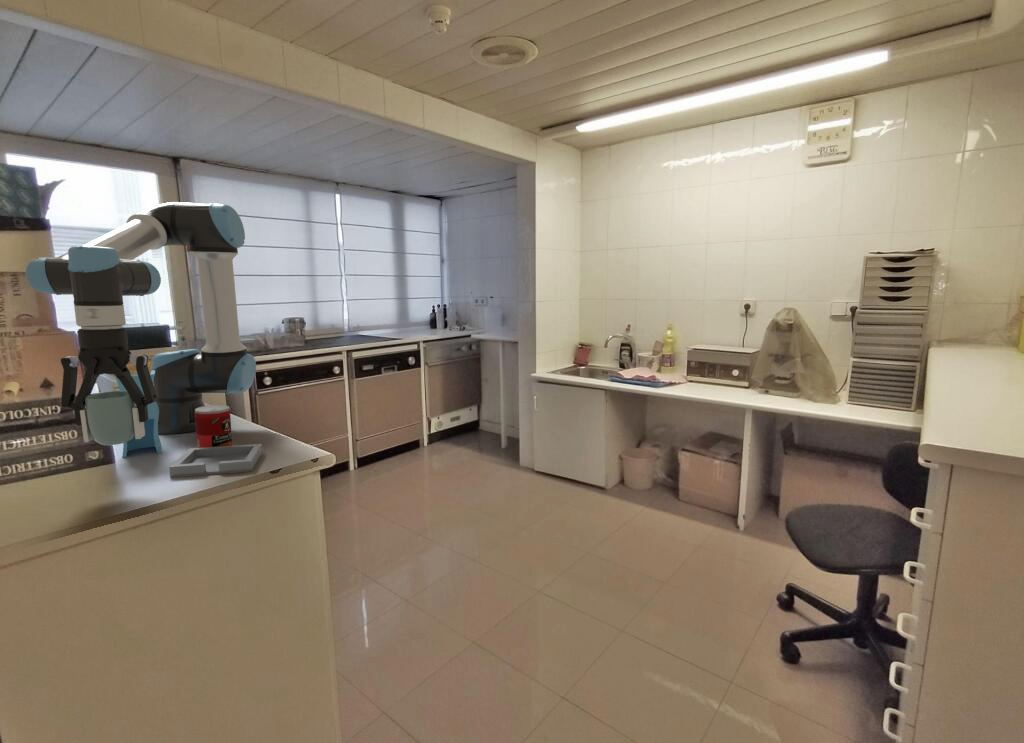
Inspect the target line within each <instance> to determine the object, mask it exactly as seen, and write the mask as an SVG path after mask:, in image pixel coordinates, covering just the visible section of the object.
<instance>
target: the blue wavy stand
mask: <svg viewBox="0 0 1024 743" xmlns="http://www.w3.org/2000/svg"><path fill="white" fill-rule="evenodd" d="M131 376H132V378H133V379H134V381H135V382H136V384H137V385H138V387H139V388H140V390H141V392H142V393H143V390H142V386H141V383H140V380H139V377H138V374H131ZM150 376H151V379H152V382H153V384H154V376H155V370H153V371H152V370H151V372H150ZM114 377H115V380H116V382H117V385H118V388H119V391H127V390H126V389H125V387H124V386H123V384H122V383H121V381H120V380H119V379H118V378H117V377H116V376H115V375H114ZM143 395H144V393H143ZM147 408H148V420H147V421H145V422H144V429H145V436H143V437H142V438H141V439H136V438H135V436H134V437H133V438H132V439H131V440H130V441H128V442H125V443H122V444H123V448H122V456H121V458H123V459H124V458H127V455H128V452H129V451H133V450H137V449H147V448H155V449H156V453H157V454H160V453H161V454H162V452H163V451H162V449H163V446H162V443H161V439H160V435H159V433H158V418H159V407H158V405H157V403H156V401H155V402H153V403H151V404H148V406H147Z"/></svg>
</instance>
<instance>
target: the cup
mask: <svg viewBox="0 0 1024 743" xmlns="http://www.w3.org/2000/svg"><path fill="white" fill-rule="evenodd" d="M85 405H86V407H85V408H86V413H87V419H88V425H89V429H90V432H91V435H92V437H93V440H94V441H95V442H96V443H97V444H100V445H103V446H116V445H121V444H123V443H125V442H128V441H130V440H131V439H132V438H133V437H134V436H135V430H134V421H133V412H132V408H133V407H135V406H136V404H135V403H134V401H133V400H132V398H131V397H130V395H129V394H128V392H127V391H120V390H110V391H103V392H97V393H91V394H90V395H88V396H86V397H85Z"/></svg>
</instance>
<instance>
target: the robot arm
mask: <svg viewBox="0 0 1024 743" xmlns="http://www.w3.org/2000/svg"><path fill="white" fill-rule="evenodd" d="M242 221H243V220H242V219H241V217H240V215H239V214H238V212H237V211H236V210H235V209H234V207H232V206H230V205H229V204H225V203H224V204H223V203H218V202H217V203H215V202H182V201H181V202H179V201H171V202H169V201H168V202H165V203H164V202H163V203H161V204H156V205H154V206H151V207H148V208H145V209H143V210H140V211H138V212H136V213H134V214H132V215H130V216H129V218H128V219H127V220H126V223H124V224H122V225H120V226H117V227H115V228H114V229H112V230H110V231H108V232H106V233H104V234H102V235H100V236H99V237H96V238H93V239H92V240H90V241H88V242H86V243H84V244H82V245H74V246H70V247H69V249H67V250H68V251H67V252H66V253H64V254H61V255H60V256H57V257H50V256H45V257H38V258H39V259H35V258H34V259H35V260H33V259H32V260H33V261H31V260H30V261H31V262H30V261H29V262H28V263H27V264H28V265H27V264H26V266H25V278H26V280H27V282H28V285H29V286H30V287H31V288H32V289H33V290H34V291H36V292H38V293H41V294H47V295H56V296H61V295H64V296H65V295H67V296H68V295H72V297H73V308H74V315H75V316H74V317H75V324H76V326H77V327H80V328H78V330H77V339H78V340H77V341H78V347H79V353H78V355H75V356H73V355H69V356H65V357H62V358H61V359H60V364H61V366H62V369H63V372H62V373H63V374H62V375H63V376H62V388H61V397H60V398H61V400H60V405H61V407H62V408H68V409H73V411H74V417H75V423H76V425H77V426H81V429H82V437H83V443H89V442H91V441H92V440H94V439H93V437H92V435H91V432H90V429H89V425H88V419H87V413H86V405H85V397H86V396H88V395H90V394H92V392H93V389H94V388H95V385H96V382H97V380H98V377H99V376H101V375H114V377H115V376H116V377H117V378H118V379H119V380H120V381H121V383H122V384H123V386H124V387H125V389H126V390H127V392H128V394H129V395H130V397H131V398H132V400H133V401H134V403H135V404H136V406H135V407H133V408H132V412H133V421H134V430H135V438H136V439H141V438H142V437H143V436H145V429H144V422H145V421H147V420H148V408H147V406H148V404H151V403H153V402H155V401H156V403H157V405H158V407H159V418H158V435H159V434H161V435H164V434H165V435H167V434H168V435H171V434H173V435H174V434H183V433H190V432H196V423H195V409H196V408H199V407H203V406H206V405H205V402H204V400H203V394H229V395H233V394H240V393H242V394H243V393H245V392H247V391H248V390H249V389H250V388H251V386H252V385H253V382H254V380H255V378H256V371H257V362H256V359H255V357H254V355H252V354H250V353H247V351H248V350H247V346H245V345H244V344H243V343H242V342H241V340H240V339H241V338H240V329H239V328H240V326H239V319H238V318H239V317H238V308H237V307H238V306H237V296H236V294H237V293H236V284H235V275H234V274H235V273H234V264H233V260H234V258H235V257H236V256H238V255H239V252H238V249H239V248H242V247H243V246H244V245H245V239H246V234H245V228H244V224H243V222H242ZM167 246H185V247H189V252H190V254H192V255H193V256H194V257H195V258H196V259H197V260H196V261H197V266H198V277H199V288H200V295H201V305H202V315H203V324H204V334H205V345H203V346H202V347H201V349H200V350H199V349H198V348H190V349H182V350H175V351H173V350H172V351H166V352H160V353H156V354H154V356H153V357H152V361H151V365H152V367H151V371H153V370H155V376H154V383H153V382H152V379H151V376H150V374H151V372H150V371H149V367H148V365H149V364H148V363H149V356H148V355H147V354H142V355H140V354H133V353H132V352H131V351H130V350H129V341H128V332H127V331H128V330H127V329H126V328H125V327H123V326H125V325H126V324H127V323H126V313H125V307H124V306H125V305H124V298H123V296H125V297H126V296H128V297H131V296H136V297H137V296H140V297H144V296H146V295H148V296H149V295H151V294H154V293H156V291H158V289H159V288H160V285H161V282H162V280H161V279H162V278H161V273H160V272H159V269H157V267H156V266H155V265H153V264H152V263H150V262H147V261H143V260H140V259H137V258H139V257H140V256H142V255H143V254H145V253H146V252H148V251H151V250H152V251H153V250H154V251H155V250H160V249H162V247H167ZM130 361H132V364H133V366H135V370H136V373H137V374H136V375H138V377H139V380H140V383H141V386H142V390H143V393H144V395H143V393H142V392H141V390H140V388H139V387H138V385H137V384H136V382H135V381H134V379H133V378H132V376H131V375H132V374H131V370H130V369H129V368H128V366H127V365H128V364H129V363H130ZM80 363H81V364H82V365H84V367H85V368H86V370H85V373H84V375H83V377H84V378H83V379H82V382H81V385H80V387H79V390H78V392H77V382H78V370H79V369H78V367H79V366H80ZM76 394H77V395H76Z"/></svg>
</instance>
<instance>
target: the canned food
mask: <svg viewBox="0 0 1024 743" xmlns="http://www.w3.org/2000/svg"><path fill="white" fill-rule="evenodd" d="M231 417H232V416H231V408H230V406H229V405H224V404H212V405H205V406H203V407H199V408H196V409H195V423H196V431H195V432H196V445H197V446H196V448H203V447H219V446H233V439H232V438H233V437H232V435H233V434H232V422H231V421H232V420H231V419H232V418H231Z"/></svg>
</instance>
